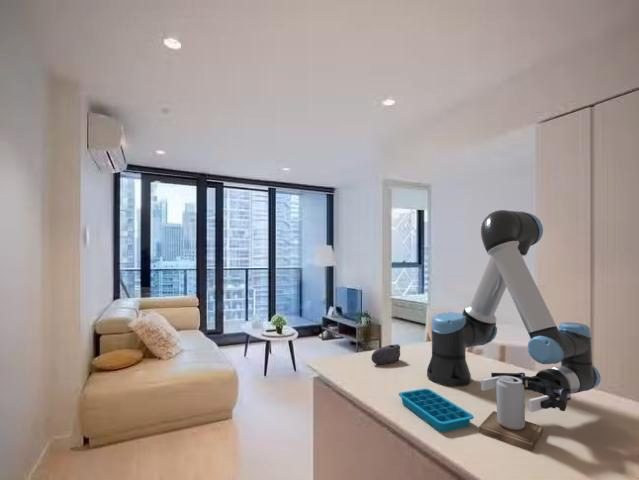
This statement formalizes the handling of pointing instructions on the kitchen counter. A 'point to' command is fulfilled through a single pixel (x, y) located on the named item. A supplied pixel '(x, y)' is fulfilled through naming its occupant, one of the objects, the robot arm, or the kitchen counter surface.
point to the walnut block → (512, 432)
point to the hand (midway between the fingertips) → (504, 394)
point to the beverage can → (510, 402)
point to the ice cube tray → (436, 409)
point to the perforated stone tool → (386, 354)
